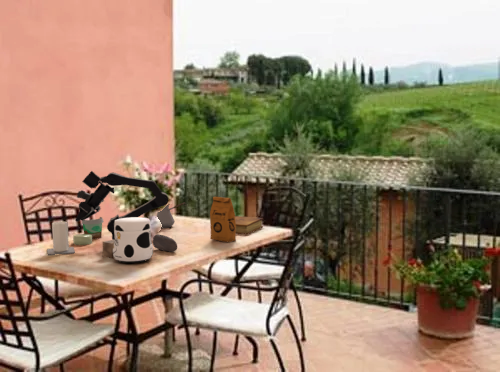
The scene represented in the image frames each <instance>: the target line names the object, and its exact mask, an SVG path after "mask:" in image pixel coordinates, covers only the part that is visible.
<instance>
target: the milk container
mask: <svg viewBox="0 0 500 372" xmlns="http://www.w3.org/2000/svg"><path fill="white" fill-rule="evenodd" d="M151 232H152V231H151V221H150V218H147V217H141V216H139V217H130V218H121V219H117V220H115V223H114V236H115V241H114V246H113V256H114V258H113V259H114V260H115V261H117V262H119V263H123V264H135V263H136V264H138V263H143V262H147V261H149V260H150V259H152V257H153V255H154V246H153V241H152V237H151V234H152V233H151Z"/></svg>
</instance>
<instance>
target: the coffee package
mask: <svg viewBox="0 0 500 372" xmlns="http://www.w3.org/2000/svg"><path fill="white" fill-rule="evenodd" d="M212 200H213V201H212V204H211V207H210V211H209V218H210V219H209V221H210V222H209V223H210V240H214V241H217V242H223V243H232V242H236V241H237V239H236V238H237V237H236V236H237V234H236V222H235V216H236V214H235V209H234V205H233V201H232V199H231V197H222V196H221V197H220V196H213V197H212Z"/></svg>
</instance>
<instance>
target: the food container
mask: <svg viewBox="0 0 500 372" xmlns="http://www.w3.org/2000/svg"><path fill="white" fill-rule="evenodd" d="M103 223H104V219H103V216H99V218H93V219H85V220H83V221H82V220H81V225H82V227H83V228H82V229H83V234H91V235H92V240H98V239H102V234H103ZM97 238H98V239H97Z"/></svg>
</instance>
